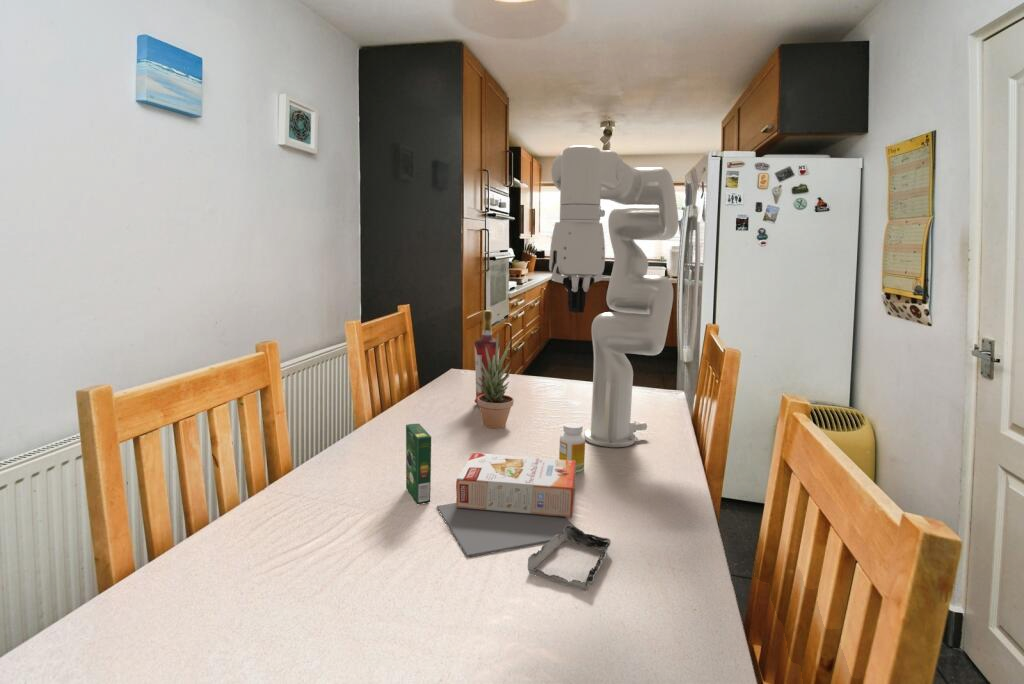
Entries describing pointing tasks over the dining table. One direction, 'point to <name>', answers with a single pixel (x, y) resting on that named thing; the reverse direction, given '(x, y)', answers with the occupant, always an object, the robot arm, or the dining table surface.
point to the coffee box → (418, 463)
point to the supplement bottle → (573, 445)
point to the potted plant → (495, 392)
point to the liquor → (484, 351)
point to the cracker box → (517, 484)
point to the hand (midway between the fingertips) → (576, 311)
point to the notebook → (499, 528)
